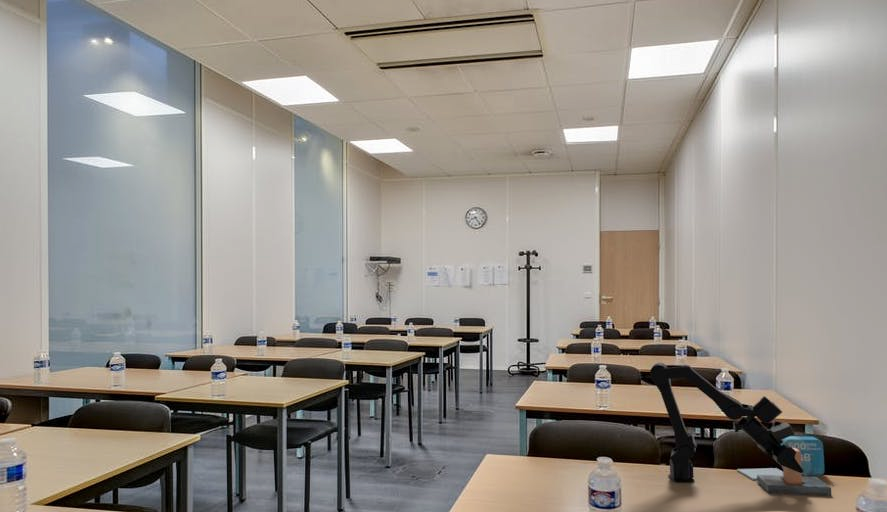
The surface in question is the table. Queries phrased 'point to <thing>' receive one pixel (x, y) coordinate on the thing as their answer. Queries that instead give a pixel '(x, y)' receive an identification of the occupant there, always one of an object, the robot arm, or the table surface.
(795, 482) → the peg
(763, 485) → the grey base plate
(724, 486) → the table surface
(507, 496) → the table surface
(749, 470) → the pad
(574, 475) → the table surface
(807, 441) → the data package
